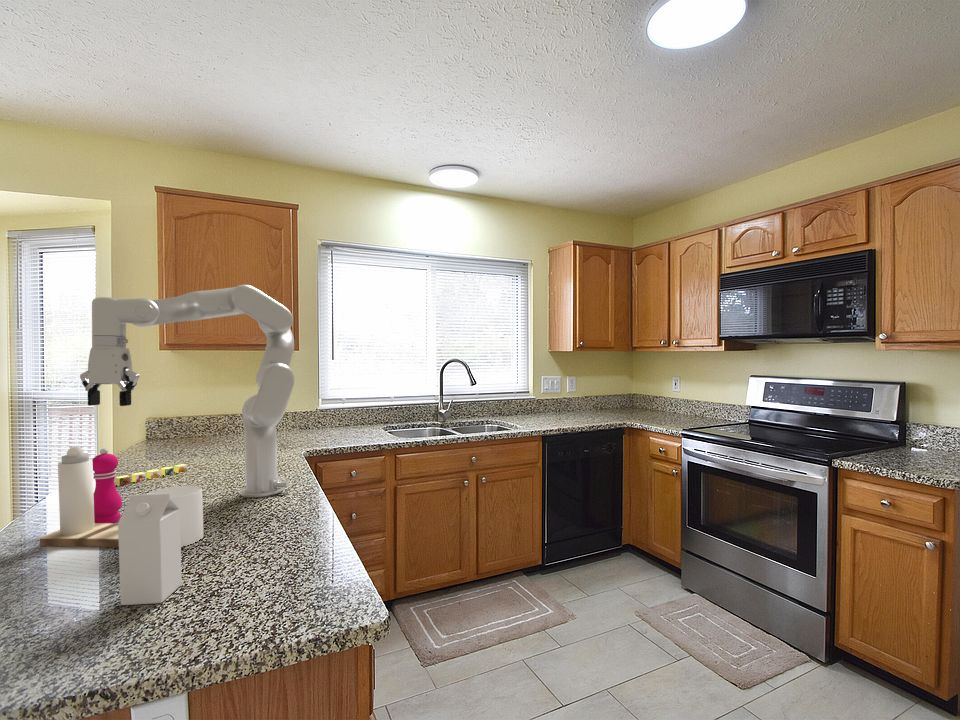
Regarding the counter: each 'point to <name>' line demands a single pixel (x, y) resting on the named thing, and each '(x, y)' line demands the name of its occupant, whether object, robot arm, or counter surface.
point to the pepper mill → (106, 488)
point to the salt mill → (76, 492)
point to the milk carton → (149, 549)
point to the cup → (187, 511)
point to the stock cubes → (149, 474)
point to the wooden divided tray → (85, 537)
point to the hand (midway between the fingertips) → (109, 405)
